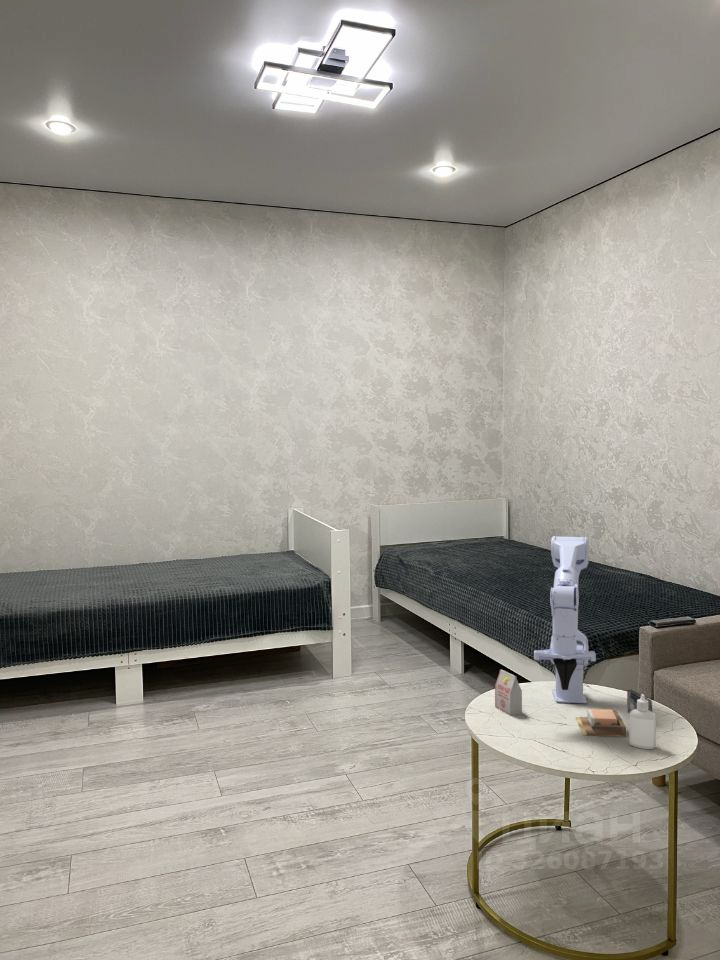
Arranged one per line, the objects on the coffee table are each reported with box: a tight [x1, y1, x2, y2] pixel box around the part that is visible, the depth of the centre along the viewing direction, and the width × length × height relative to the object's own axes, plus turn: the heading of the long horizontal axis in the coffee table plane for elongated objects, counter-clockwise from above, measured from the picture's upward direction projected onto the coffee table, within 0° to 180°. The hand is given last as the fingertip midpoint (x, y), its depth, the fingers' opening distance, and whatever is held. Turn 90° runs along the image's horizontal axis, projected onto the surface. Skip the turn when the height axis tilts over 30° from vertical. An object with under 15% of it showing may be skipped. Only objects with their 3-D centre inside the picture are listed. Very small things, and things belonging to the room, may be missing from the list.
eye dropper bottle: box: [628, 693, 657, 750], centre depth 171 cm, size 4×6×12 cm
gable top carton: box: [494, 669, 523, 716], centre depth 195 cm, size 4×7×10 cm, turn 24°
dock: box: [575, 709, 627, 738], centre depth 183 cm, size 11×10×2 cm
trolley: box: [586, 708, 619, 729], centre depth 183 cm, size 7×6×3 cm
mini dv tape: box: [626, 689, 653, 715], centre depth 188 cm, size 8×2×6 cm, turn 14°
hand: (564, 688), depth 183 cm, fingers closed
